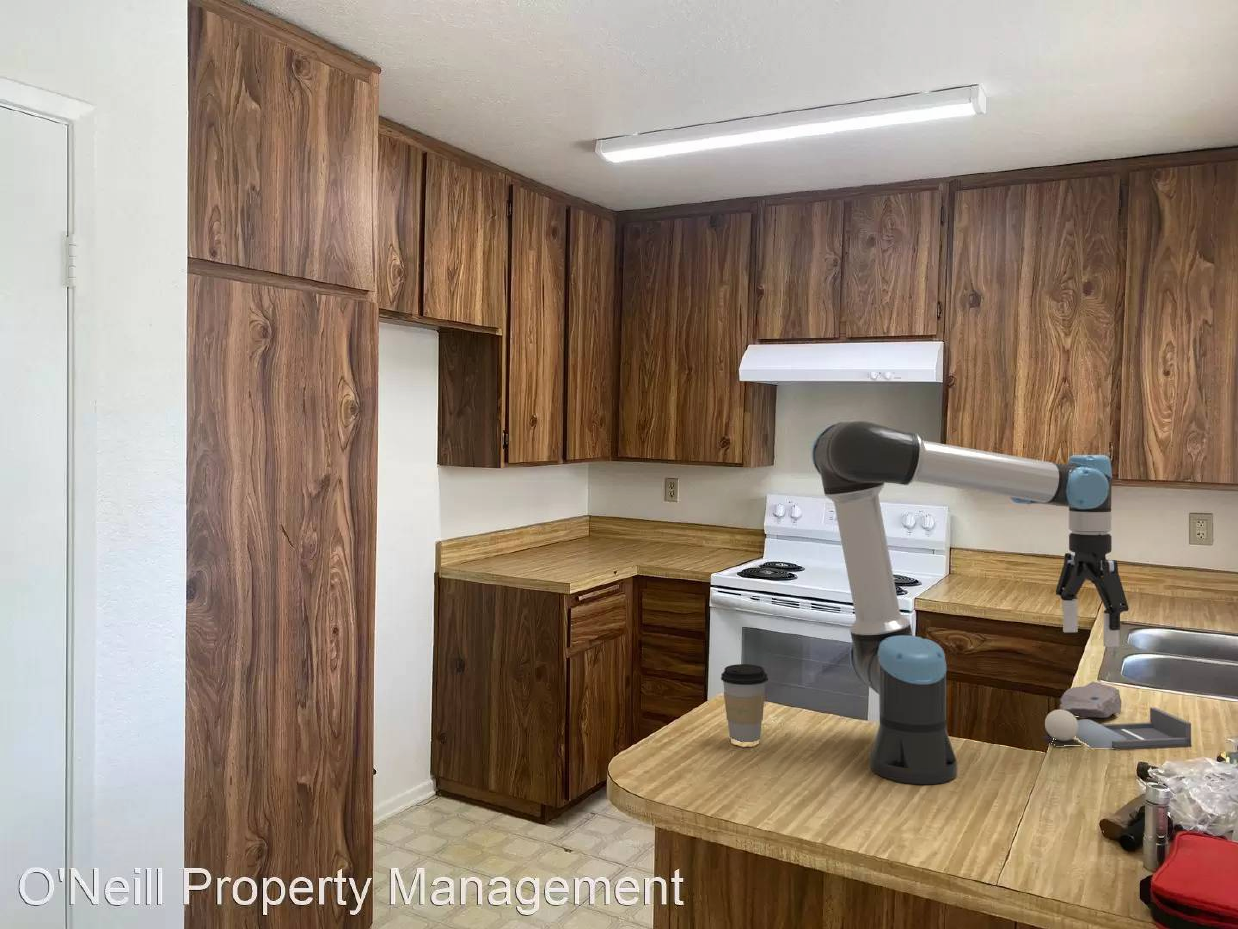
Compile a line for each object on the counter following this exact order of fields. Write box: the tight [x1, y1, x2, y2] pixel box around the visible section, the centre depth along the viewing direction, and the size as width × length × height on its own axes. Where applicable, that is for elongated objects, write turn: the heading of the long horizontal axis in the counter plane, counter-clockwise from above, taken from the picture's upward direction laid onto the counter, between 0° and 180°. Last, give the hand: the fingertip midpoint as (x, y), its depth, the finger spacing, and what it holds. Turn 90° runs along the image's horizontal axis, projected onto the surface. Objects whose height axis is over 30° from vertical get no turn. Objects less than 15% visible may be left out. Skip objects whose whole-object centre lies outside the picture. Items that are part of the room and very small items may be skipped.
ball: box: [1044, 708, 1079, 741], centre depth 179 cm, size 6×6×6 cm
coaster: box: [1042, 735, 1082, 747], centre depth 179 cm, size 5×5×1 cm
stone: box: [1059, 681, 1123, 719], centre depth 197 cm, size 13×10×6 cm
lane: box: [1101, 707, 1192, 750], centre depth 180 cm, size 16×11×4 cm
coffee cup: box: [720, 663, 769, 742], centre depth 183 cm, size 9×9×15 cm
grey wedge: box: [1076, 718, 1127, 749], centre depth 180 cm, size 9×8×8 cm
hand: (1090, 639), depth 181 cm, fingers open, 13 cm apart
